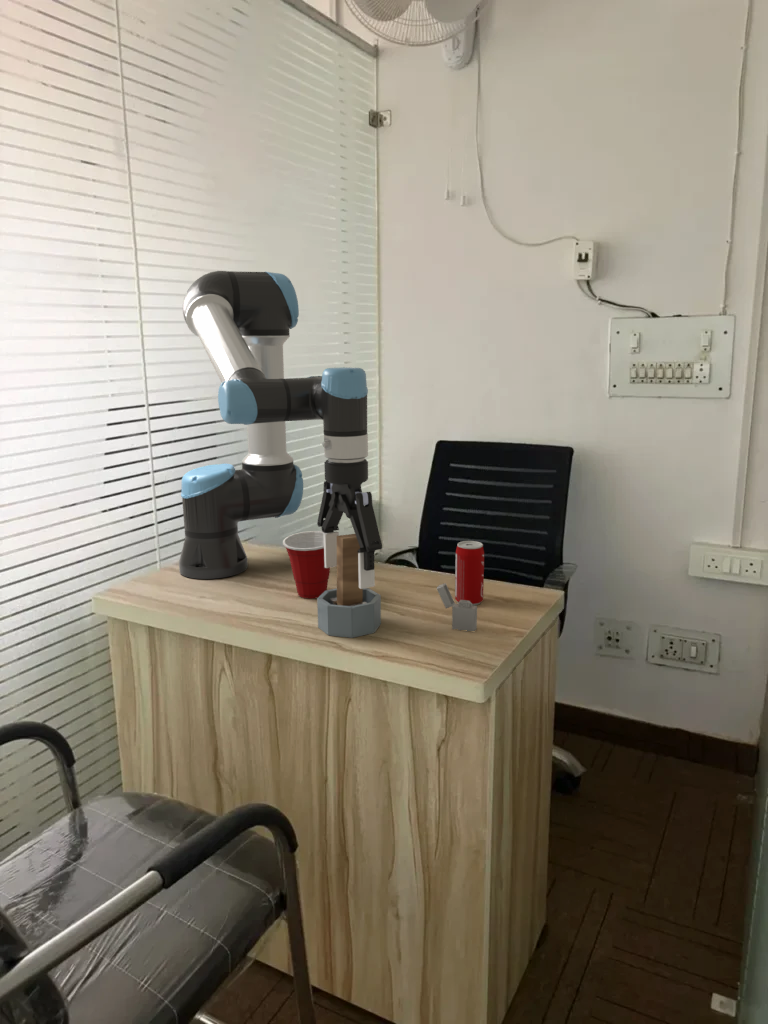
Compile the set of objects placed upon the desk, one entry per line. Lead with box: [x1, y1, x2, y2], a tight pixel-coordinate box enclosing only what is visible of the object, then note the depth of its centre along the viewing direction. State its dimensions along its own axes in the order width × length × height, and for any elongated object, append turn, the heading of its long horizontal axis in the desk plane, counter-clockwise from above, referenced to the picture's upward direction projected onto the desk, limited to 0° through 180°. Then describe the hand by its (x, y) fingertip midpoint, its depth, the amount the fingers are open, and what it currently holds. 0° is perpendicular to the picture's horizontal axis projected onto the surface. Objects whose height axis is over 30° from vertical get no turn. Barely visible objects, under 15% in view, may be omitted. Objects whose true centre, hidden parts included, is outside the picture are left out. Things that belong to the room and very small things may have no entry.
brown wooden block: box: [336, 533, 363, 606], centre depth 133 cm, size 2×4×16 cm, turn 120°
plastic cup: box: [282, 530, 331, 599], centre depth 150 cm, size 11×11×12 cm
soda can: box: [454, 540, 485, 606], centre depth 145 cm, size 6×6×12 cm
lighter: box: [436, 582, 478, 632], centre depth 132 cm, size 7×2×8 cm, turn 68°
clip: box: [329, 597, 366, 606], centre depth 134 cm, size 6×5×4 cm
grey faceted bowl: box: [316, 587, 382, 639], centre depth 134 cm, size 11×11×6 cm
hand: (348, 576), depth 132 cm, fingers open, 13 cm apart
